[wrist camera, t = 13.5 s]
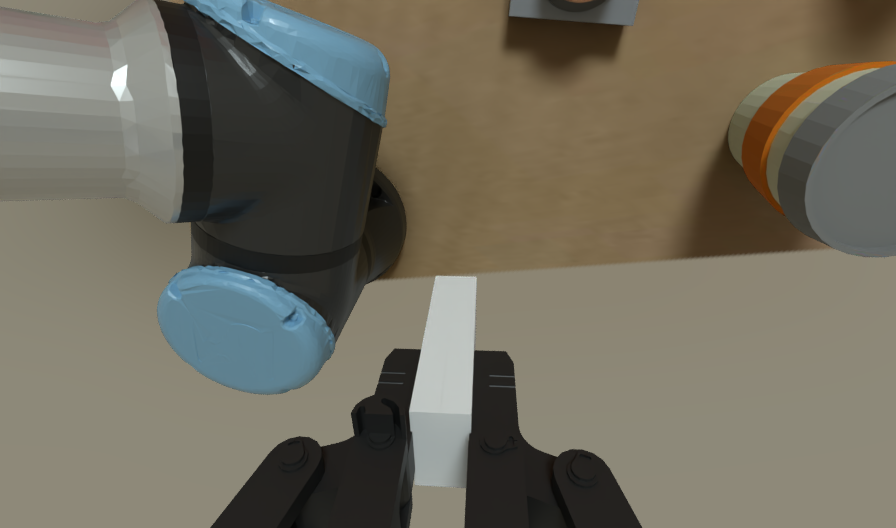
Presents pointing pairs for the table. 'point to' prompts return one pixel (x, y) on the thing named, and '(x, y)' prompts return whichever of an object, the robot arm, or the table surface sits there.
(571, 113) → the table surface
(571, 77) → the table surface
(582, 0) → the terracotta button
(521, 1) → the button panel
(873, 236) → the reusable coffee cup
